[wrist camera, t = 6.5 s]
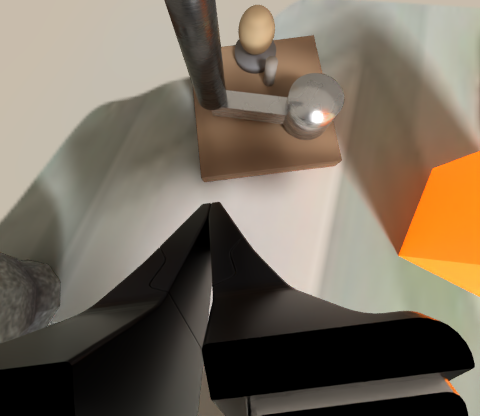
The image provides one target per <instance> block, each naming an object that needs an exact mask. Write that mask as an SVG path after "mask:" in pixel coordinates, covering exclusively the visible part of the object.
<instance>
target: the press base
mask: <svg viewBox="0 0 480 416" xmlns="http://www.w3.org/2000/svg"><path fill="white" fill-rule="evenodd" d="M274 33H275V24H274V19H273V16H272V14H271V13H270V11H269V10H268V9H267V8H265V7H264V6H262V5H254V6H251V7H250V8H248V9H247V10H246V11H245V13H244V14H243V16H242V18H241V20H240V24H239V40H238V41H237V43H236V45H234V46H225V47H221V52H222V60H223V69H224V77H225V85H226V90H230V91H238V92H247V93H255V94H263V95H272V96H280V97H288V94H289V91H290V88H291V86H292V84H293V83H294V82H295V81H296V80H297V79H298V78H300V77H301V76H303V75H306V74H310V73H321V74H322V70H321V65H320V61H319V57H318V52H317V48H316V43H315V39H314V35H313V36H305V37H297V38H289V39H281V40H273V38H274ZM193 93H194V104H195V115H196V126H197V136H198V147H199V158H200V169H201V178H202V180H203V181H204V182H209V181H217V180H225V179H233V178H241V177H249V176H257V175H265V174H273V173H281V172H289V171H297V170H305V169H313V168H321V167H330V166H335V165H337V164H338V163H339V162H340V161H342V158H341V154H340V149H339V145H338V141H337V136H336V132H335V127H334V123H333V121H332V122H331V124H330V125H329V126H328V128H327V129H326V130H325V132H324V133H323V134H322V135H321V136H319V137H317V138H315V139H311V140H301V139H298V138H295V137H293V136H292V135H290V134H289V133H288V132H287V131H286V129H285V128H284V125H283V124H277V123H269V122H261V121H253V120H245V119H237V118H229V117H221V116H213V114H212V110H207V109H204V108H203V107H202V106H201V105H200V104H199V102H198V99H197V96H196V93H195V90H194V87H193Z"/></svg>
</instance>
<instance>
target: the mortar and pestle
mask: <svg viewBox="0 0 480 416" xmlns="http://www.w3.org/2000/svg"><path fill="white" fill-rule="evenodd" d="M60 285H61V282H60V280H59V279H58V277H57V276H56V275H55V273H54V272H53V270H52V269H51V268H50V266H49V265H48V264H44V263H39V262H35V261H30V260H24V261H18V259H16V258H13V257H11V256H8V255H6V254H3V253H0V344H1V343H4V342H6V341H9V340H12V339H15V338H17V337H20V336H23V335H26V334H28V333H31V332H34V331H37V330H39V329H42V328H45V327H46V326H47V325H48V323H49V322H50V320H51V318H52V317H53V315H54V314H55V312H56V311H57V309H58V308H59V306H60Z"/></svg>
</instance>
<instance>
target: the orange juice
mask: <svg viewBox="0 0 480 416" xmlns="http://www.w3.org/2000/svg"><path fill="white" fill-rule="evenodd" d="M398 256H400V257H402V258H404V259H406V260H408V261H410V262H412V263H414V264H416V265H418V266H420V267H422V268H424V269H426V270H428V271H430V272H432V273H434V274H436V275H438V276H440V277H442V278H444V279H446V280H448V281H450V282H452V283H453V284H455V285H457V286H459V287H461V288H463V289H465V290H467V291H469V292H471V293H473V294H475V295H477V296H479V297H480V151H478V152H476V153H473V154H470V155H468V156H465V157H462V158H460V159H457V160H454V161H451V162H449V163H446V164H443V165H441V166H438V167H435V168H433V169H432V171H431V174H430V177H429V179H428V182H427V184H426V187H425V189H424V192H423V194H422V197H421V199H420V202H419V204H418V207H417V210H416V212H415V215H414V217H413V220H412V222H411V225H410V227H409V230H408V232H407V235H406V238H405V240H404V243H403V245H402V248H401V250H400V253H399V255H398Z"/></svg>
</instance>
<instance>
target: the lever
mask: <svg viewBox="0 0 480 416" xmlns="http://www.w3.org/2000/svg"><path fill="white" fill-rule="evenodd" d="M165 3H166V6H167V9H168V12H169V15H170V18H171V21H172V24H173V27H174V30H175V33H176V36H177V39H178V42H179V45H180V48H181V51H182V54H183V57H184V60H185V63H186V66H187V69H188V72H189V75H190V78H191V81H192V84H193V87H194V90H195V93H196V96H197V99H198V102H199V104H200V105H201V106H202V107H203V108H204V109H207V110H212V114H213V116H221V117H229V118H237V119H245V120H253V121H261V122H269V123H277V124H283V125H284V128H285V129H286V131H287V132H288V133H289V134H290V135H292V136H293V137H295V138H298V139H301V140H311V139H315V138H317V137H319V136H321V135H322V134H323V133H324V132H325V130H326V129H327V128H328V126H329V125H330V124H331V122H332V121H333V120H334V118H335V117H336V116H337V114H338V113H339V112H340V110H341V109H342V107H343V104H344V93H343V90H342V88H341V86H340V85H339V84H338V82H337V81H336V80H334V79H333V78H331V77H330V76H327V75H325V74H321V73H310V74H306V75H303V76H301V77H300V78H298V79H297V80H296V81H295V82H294V83H293V84H292V86H291V88H290V91H289V94H288V97H280V96H272V95H263V94H255V93H247V92H238V91H230V90H226V85H225V77H224V69H223V60H222V52H221V44H220V36H219V28H218V19H217V12H216V2H215V0H165Z"/></svg>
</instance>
